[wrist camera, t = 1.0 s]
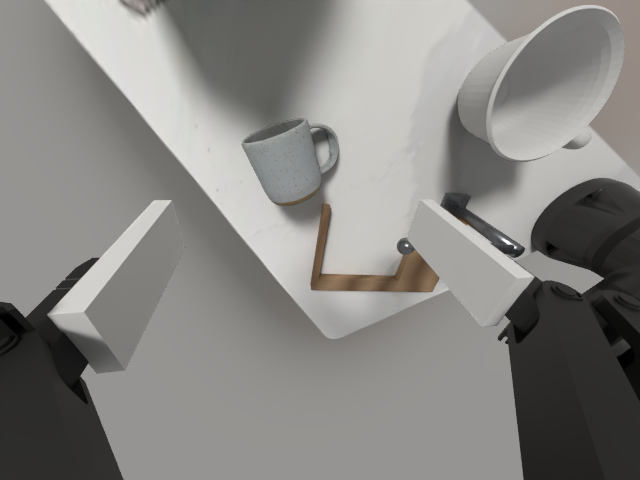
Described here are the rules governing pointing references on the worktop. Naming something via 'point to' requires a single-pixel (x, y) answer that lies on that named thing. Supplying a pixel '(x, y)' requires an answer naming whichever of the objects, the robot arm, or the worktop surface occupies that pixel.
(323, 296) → the worktop surface
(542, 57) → the teacup
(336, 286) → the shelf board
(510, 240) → the bent metal bar
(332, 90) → the worktop surface
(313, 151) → the ceramic mug
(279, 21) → the worktop surface
